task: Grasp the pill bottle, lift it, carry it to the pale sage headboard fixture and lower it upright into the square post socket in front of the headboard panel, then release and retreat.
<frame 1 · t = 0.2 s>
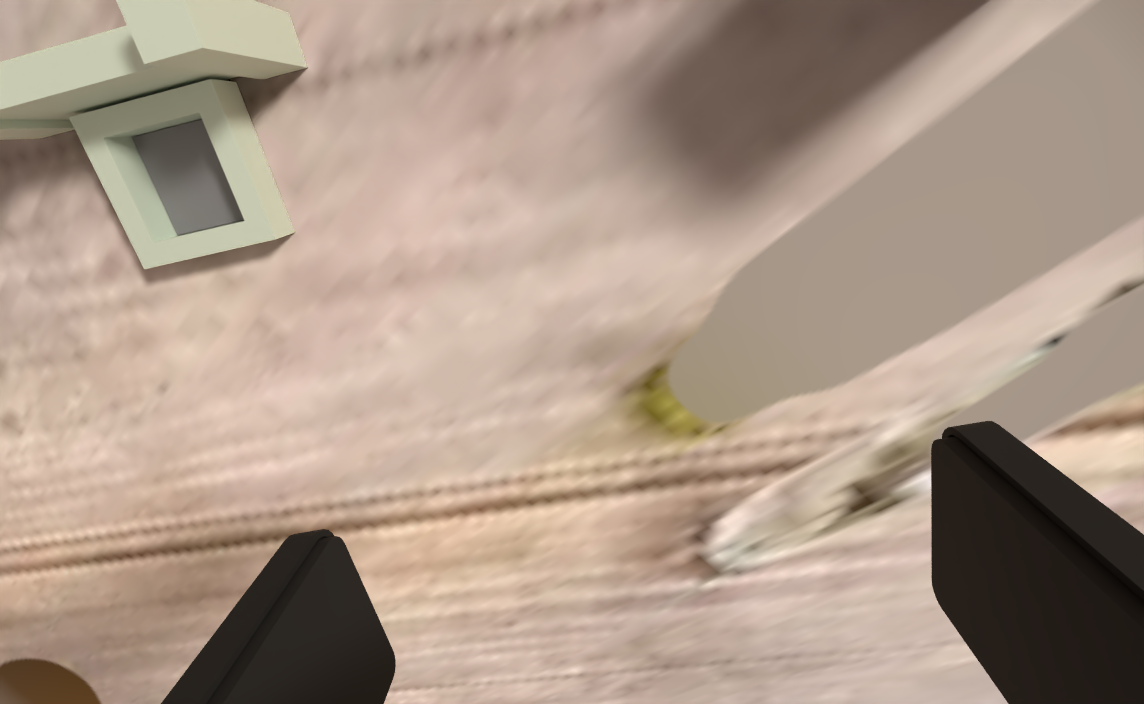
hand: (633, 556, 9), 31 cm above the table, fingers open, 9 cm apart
headboard: (201, 176, 38), on the table
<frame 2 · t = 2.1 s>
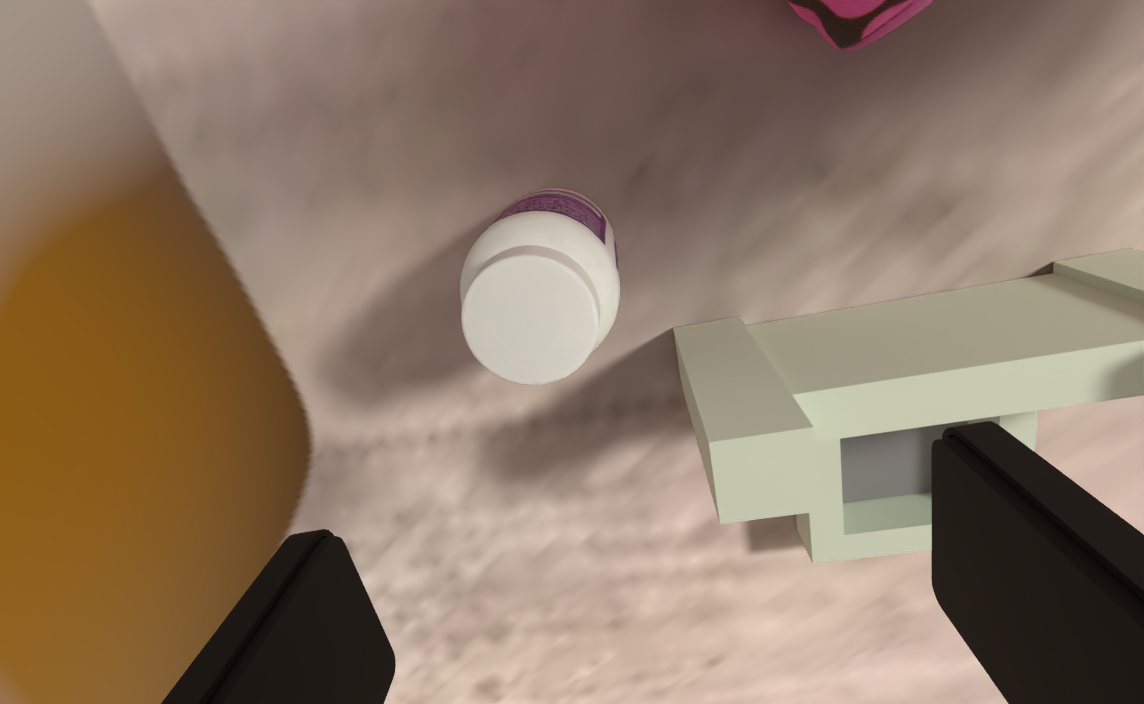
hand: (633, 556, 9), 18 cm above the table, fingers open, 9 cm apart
headboard: (892, 437, 28), on the table
pill bottle: (555, 249, 25), on the table
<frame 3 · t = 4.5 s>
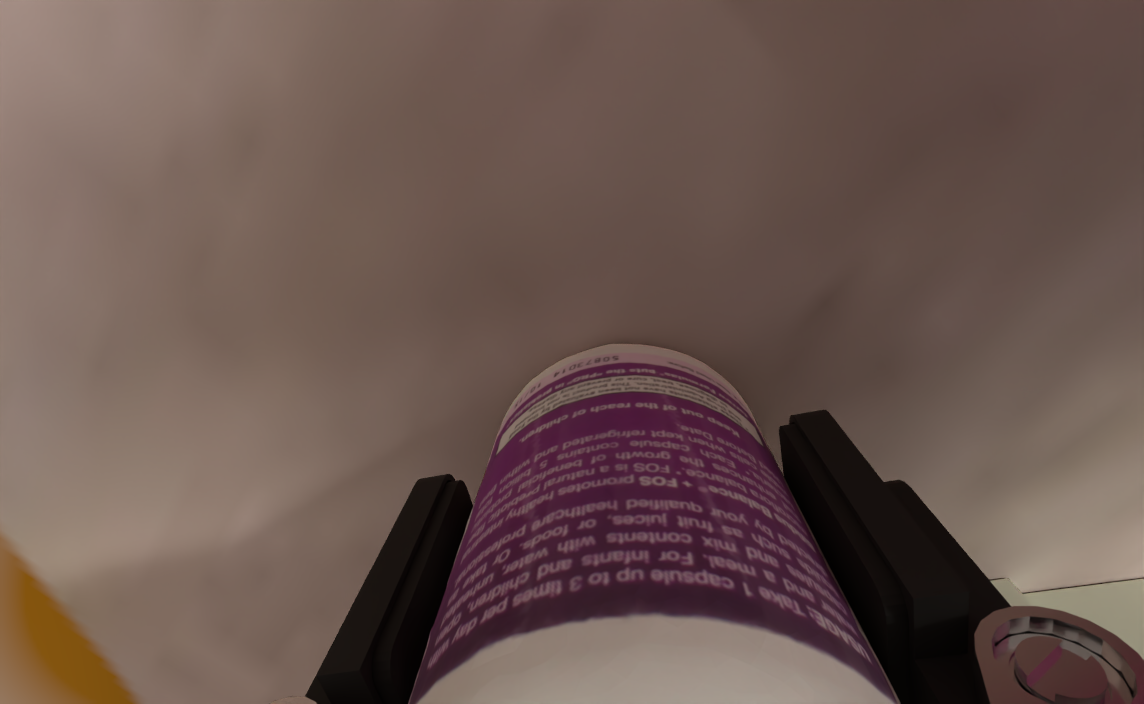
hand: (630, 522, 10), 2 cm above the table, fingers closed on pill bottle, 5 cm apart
pill bottle: (625, 454, 12), on the table, touching gripper
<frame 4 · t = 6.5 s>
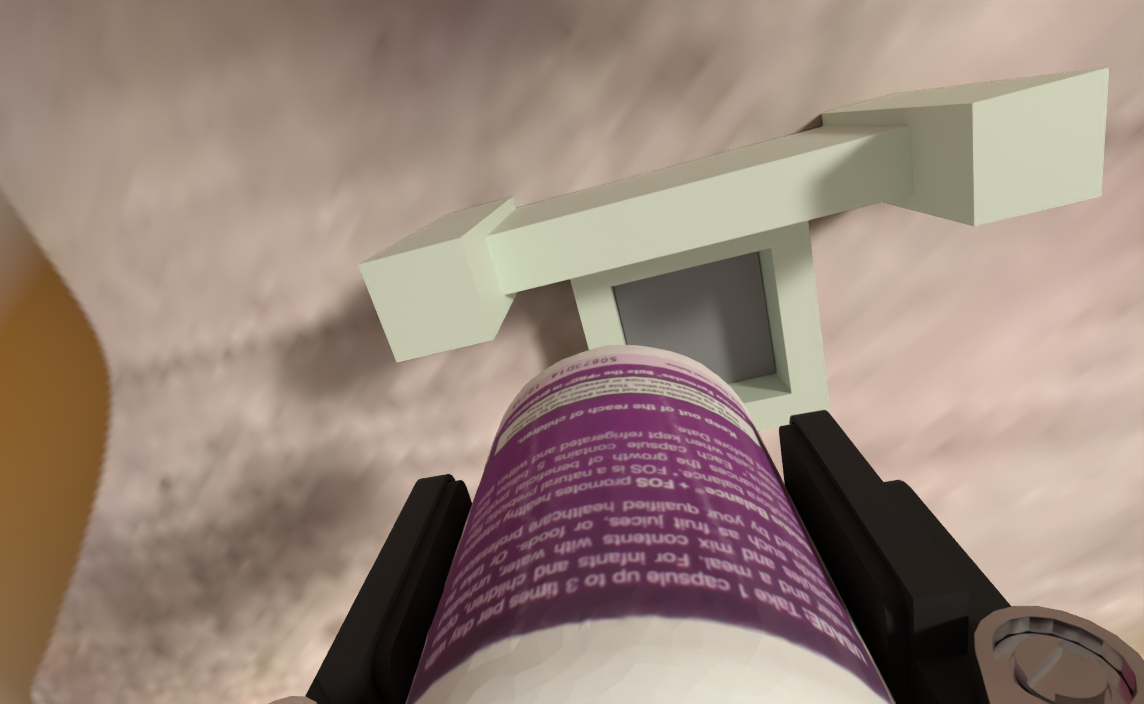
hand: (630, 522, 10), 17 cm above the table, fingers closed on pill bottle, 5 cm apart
headboard: (694, 323, 26), on the table
pill bottle: (623, 454, 12), point 15 cm above the table, touching gripper
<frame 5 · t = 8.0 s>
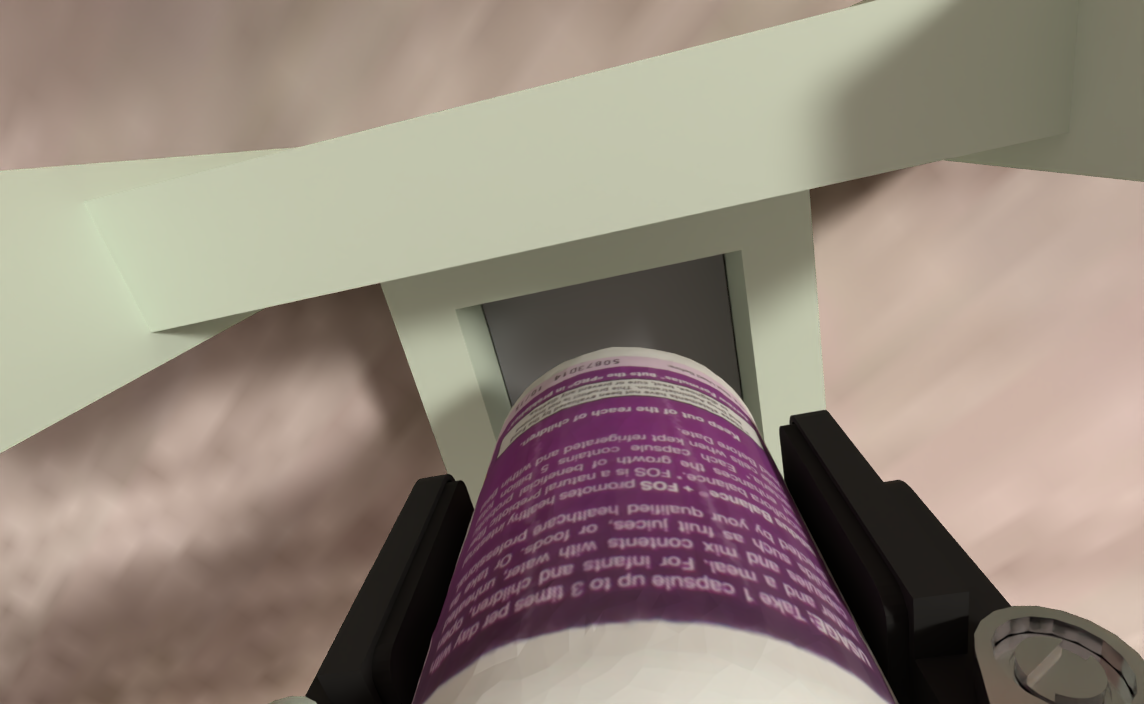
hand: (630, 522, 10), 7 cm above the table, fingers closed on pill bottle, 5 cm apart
headboard: (618, 367, 16), on the table
pill bottle: (626, 456, 12), point 5 cm above the table, touching gripper
when the fingers open (3 cm above the table, at t = 9.1 s): pill bottle stays where it is, resting on headboard.
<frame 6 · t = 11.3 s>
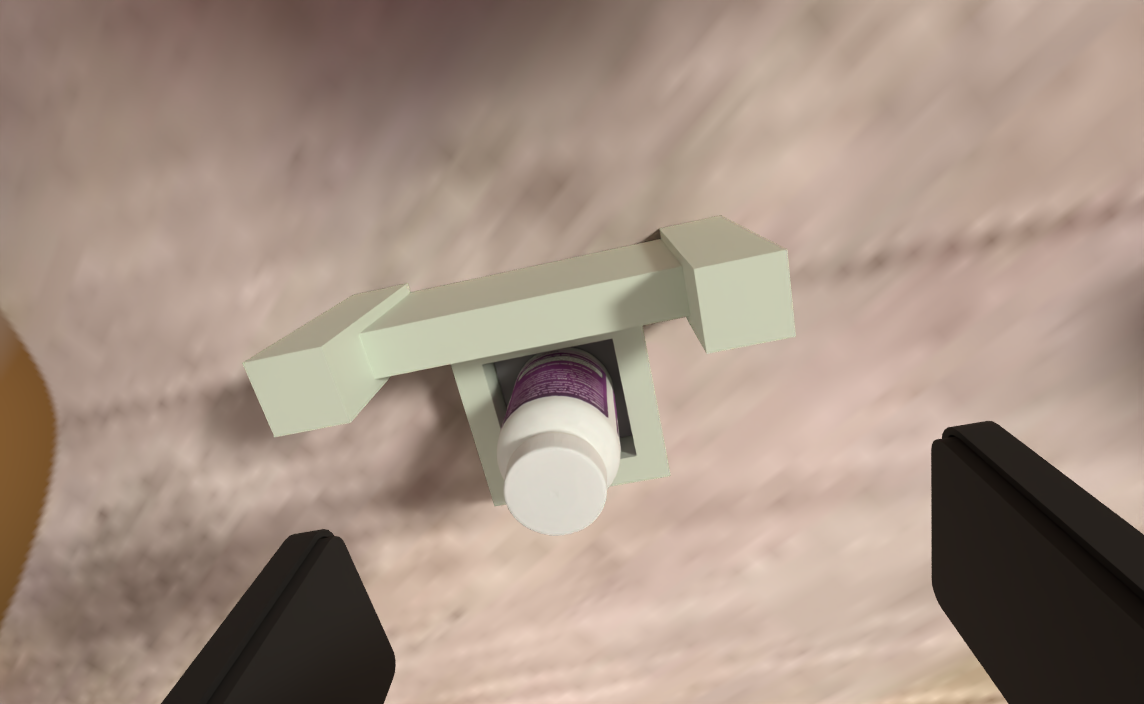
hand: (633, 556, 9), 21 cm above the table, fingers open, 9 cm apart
headboard: (563, 391, 31), on the table
pill bottle: (564, 390, 31), resting on headboard
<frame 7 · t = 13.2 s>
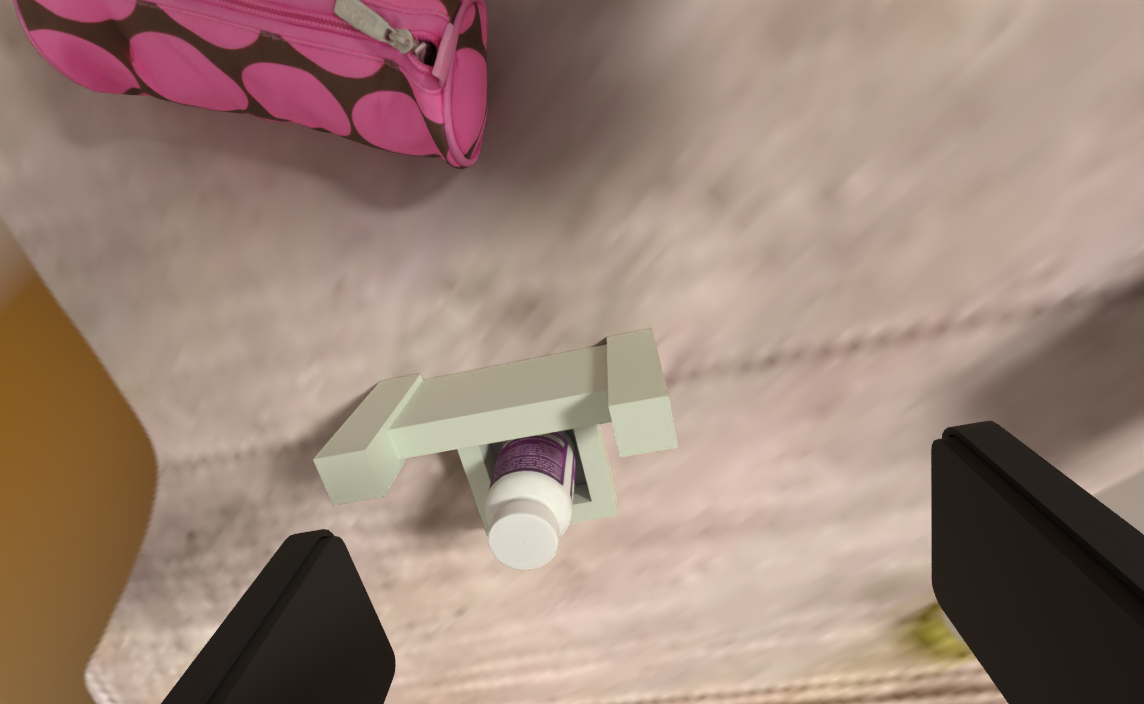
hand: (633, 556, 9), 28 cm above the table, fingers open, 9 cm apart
headboard: (538, 450, 41), on the table
pencil case: (317, 46, 33), on the table
pill bottle: (539, 449, 41), resting on headboard
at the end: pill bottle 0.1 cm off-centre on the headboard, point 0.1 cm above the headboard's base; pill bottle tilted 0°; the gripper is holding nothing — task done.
